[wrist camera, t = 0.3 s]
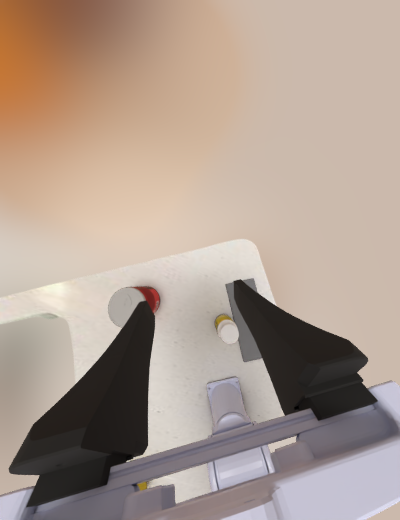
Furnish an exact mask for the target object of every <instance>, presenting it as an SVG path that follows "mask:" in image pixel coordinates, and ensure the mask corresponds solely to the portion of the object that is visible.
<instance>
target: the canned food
mask: <svg viewBox="0 0 400 520" xmlns="http://www.w3.org/2000/svg"><path fill="white" fill-rule="evenodd" d="M146 300H147V301H148V303H149V305H150V307H151V309H152V311H153V313H155V312H156V310H157V309H158V307H159V302H160V299H159V295H158V293H157V292H156V290H155V289H153V288H151V287H147V286H146V287H126V288H122V289H120V290H118V291H117V292H115V293H114V295H113V296H112V297H111V299H110V301H109V305H108V313H109V317H110V319H111V321H112V322H113V323H114V324H115V325H117V326H119V327H122V328H123V327H124V325H125V323H126V322H127V320H128V319H129V317H130V316H131V314H132V313H133V311H134V309H135V308H136V306H137V305H138V303H139V302H141V301H146Z"/></svg>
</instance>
